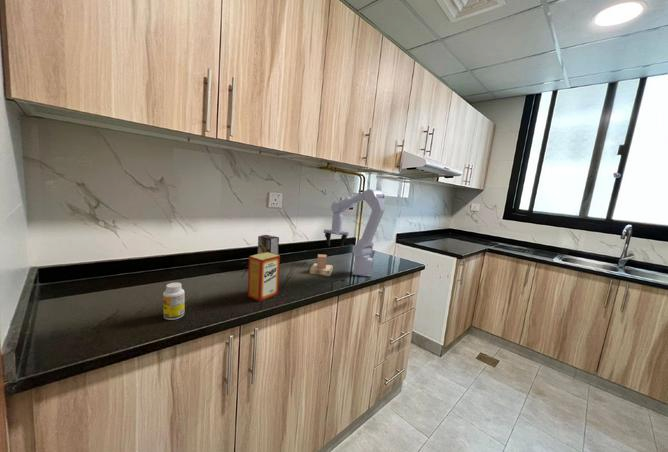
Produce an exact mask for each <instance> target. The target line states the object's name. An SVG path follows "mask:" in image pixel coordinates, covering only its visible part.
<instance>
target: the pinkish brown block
mask: <svg viewBox="0 0 668 452" xmlns="http://www.w3.org/2000/svg"><path fill="white" fill-rule="evenodd" d="M327 256H328V255H327V254H317V268H323V269H326V265H327V261H328V260H327V258H328V257H327Z"/></svg>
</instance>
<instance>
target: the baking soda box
mask: <svg viewBox="0 0 668 452" xmlns="http://www.w3.org/2000/svg"><path fill="white" fill-rule="evenodd" d="M280 264H281V255H279V254H278V255H277V254H273V253H269V252H267V253H262V254H258V253H257V254H256V253H255V254H253V255H250V256H248V278H247V279H248V281H247V297H248V298H251V299H252V300H255V301H257V302H262V301H264V300H266V299H269V298H271V297H273V296H276V295H278V294H279V286H280V283H279V282H280Z"/></svg>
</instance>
